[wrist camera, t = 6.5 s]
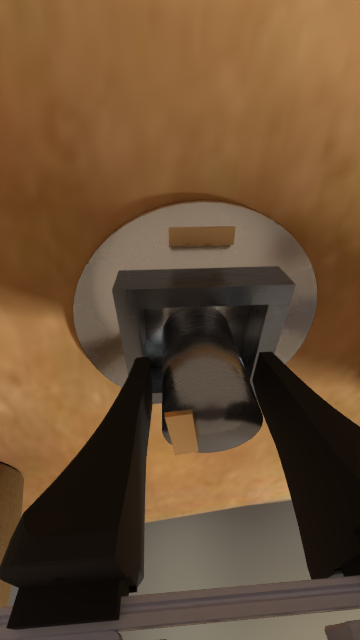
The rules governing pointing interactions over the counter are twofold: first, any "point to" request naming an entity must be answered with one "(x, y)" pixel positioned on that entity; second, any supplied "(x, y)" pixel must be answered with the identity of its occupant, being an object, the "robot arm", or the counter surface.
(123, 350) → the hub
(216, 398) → the shaft
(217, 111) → the counter surface
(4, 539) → the plant pot
